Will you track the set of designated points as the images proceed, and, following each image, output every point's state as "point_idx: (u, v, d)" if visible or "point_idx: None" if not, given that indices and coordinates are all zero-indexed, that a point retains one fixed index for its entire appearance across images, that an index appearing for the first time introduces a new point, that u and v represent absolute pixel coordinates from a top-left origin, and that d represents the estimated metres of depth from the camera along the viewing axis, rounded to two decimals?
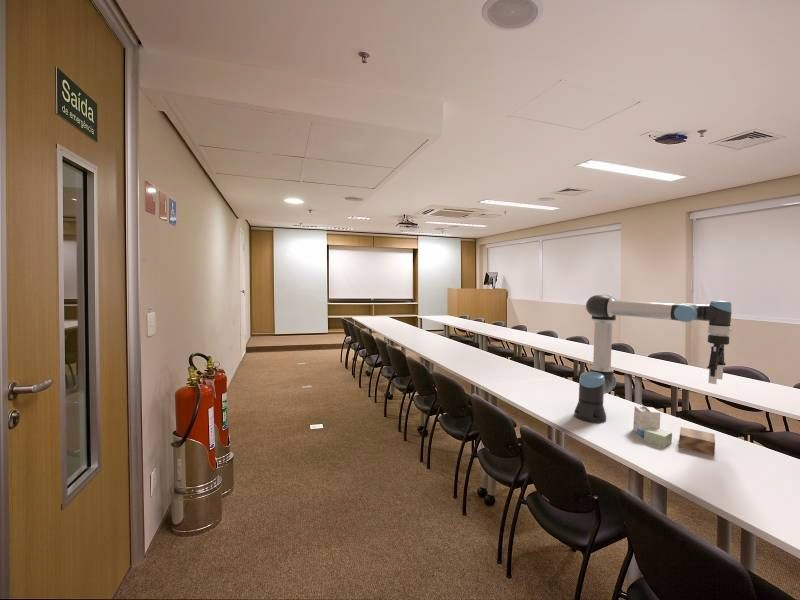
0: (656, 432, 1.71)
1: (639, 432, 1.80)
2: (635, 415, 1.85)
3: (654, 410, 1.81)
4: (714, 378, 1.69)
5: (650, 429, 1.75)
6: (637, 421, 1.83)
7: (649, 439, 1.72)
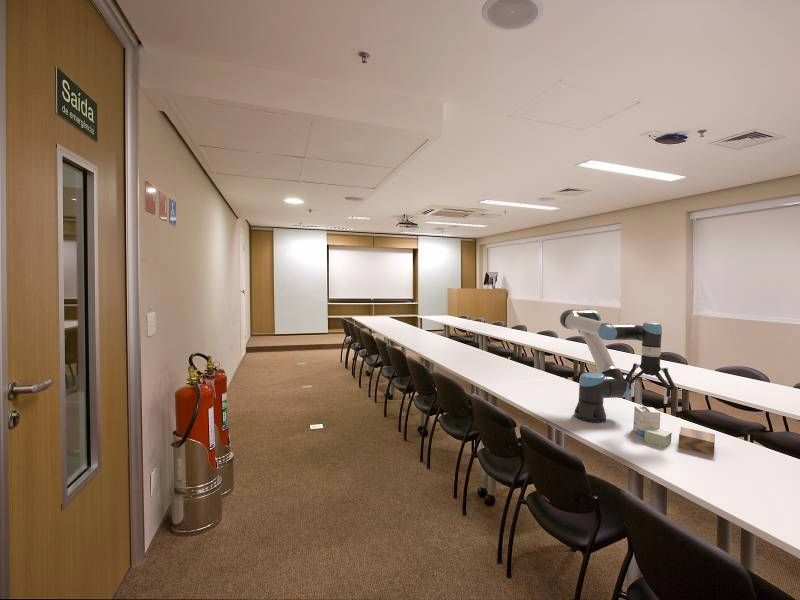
0: (656, 432, 1.71)
1: (639, 432, 1.80)
2: (635, 415, 1.85)
3: (654, 410, 1.81)
4: None
5: (650, 429, 1.75)
6: (637, 421, 1.83)
7: (649, 439, 1.71)
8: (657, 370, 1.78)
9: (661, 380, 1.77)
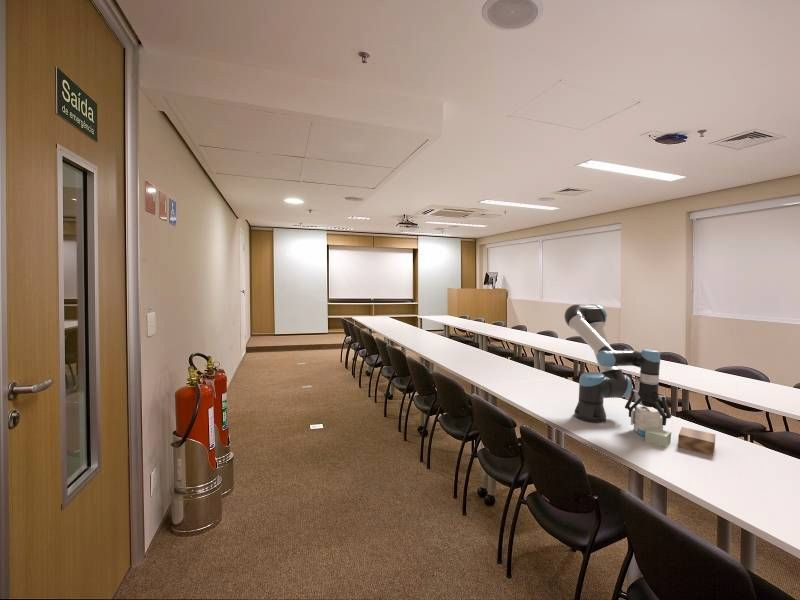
0: (656, 432, 1.71)
1: (639, 432, 1.80)
2: (636, 415, 1.85)
3: (654, 410, 1.80)
4: None
5: (650, 429, 1.74)
6: (637, 421, 1.83)
7: (650, 439, 1.71)
8: (655, 398, 1.79)
9: (658, 408, 1.78)
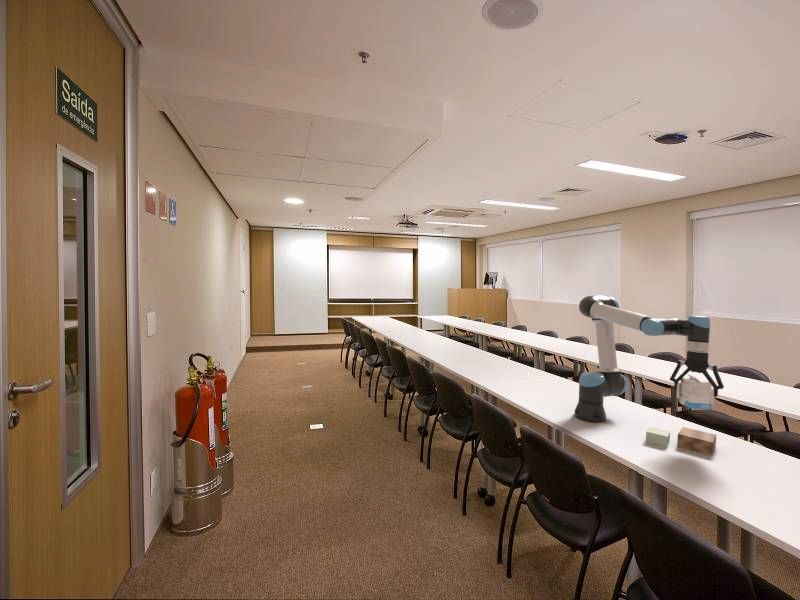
0: (657, 433, 1.71)
1: (688, 405, 1.66)
2: (682, 387, 1.70)
3: (704, 381, 1.66)
4: None
5: (650, 429, 1.74)
6: (685, 393, 1.68)
7: (651, 440, 1.71)
8: (705, 367, 1.64)
9: (708, 378, 1.63)
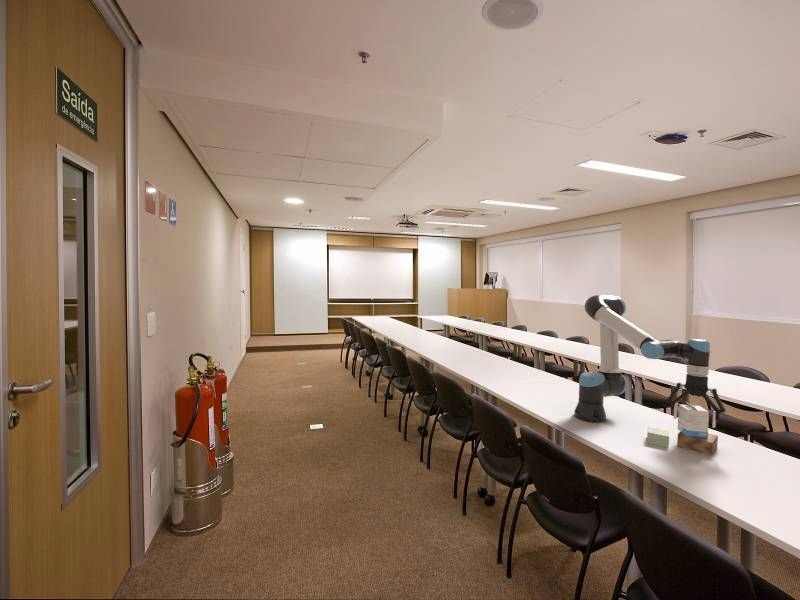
0: (658, 433, 1.70)
1: (685, 432, 1.67)
2: (680, 414, 1.71)
3: (701, 409, 1.67)
4: None
5: (650, 430, 1.74)
6: (682, 420, 1.69)
7: (652, 440, 1.70)
8: (705, 391, 1.64)
9: (709, 402, 1.63)
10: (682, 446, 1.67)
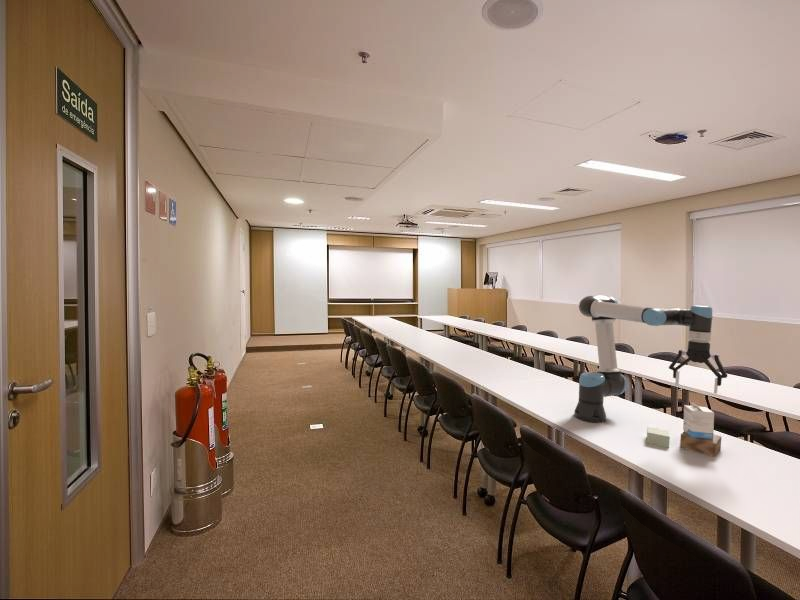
0: (658, 433, 1.70)
1: (689, 433, 1.66)
2: (685, 415, 1.70)
3: (707, 410, 1.65)
4: None
5: (650, 430, 1.74)
6: (687, 421, 1.68)
7: (653, 440, 1.70)
8: (707, 357, 1.64)
9: (711, 368, 1.63)
10: (685, 447, 1.66)
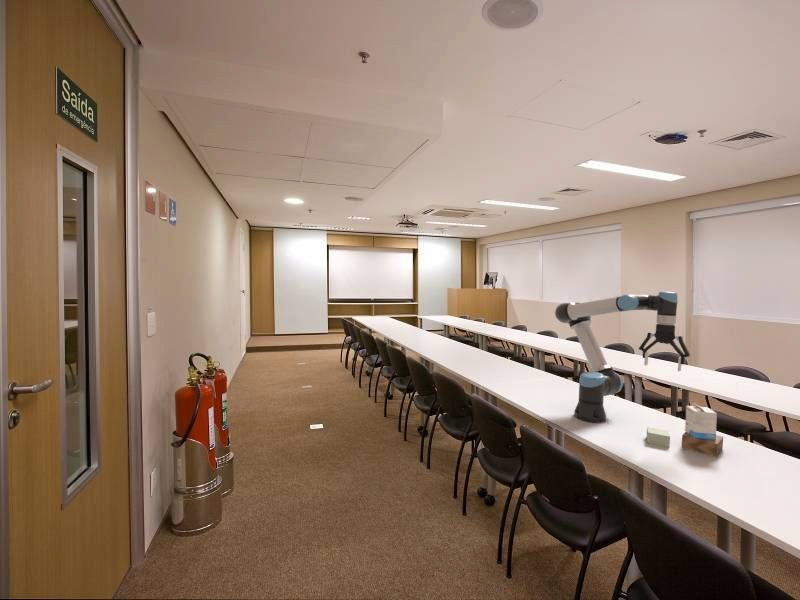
0: (658, 433, 1.70)
1: (692, 434, 1.65)
2: (688, 416, 1.69)
3: (709, 410, 1.65)
4: None
5: (650, 430, 1.74)
6: (690, 422, 1.67)
7: (653, 440, 1.70)
8: (672, 338, 1.80)
9: (675, 348, 1.79)
10: (687, 447, 1.66)
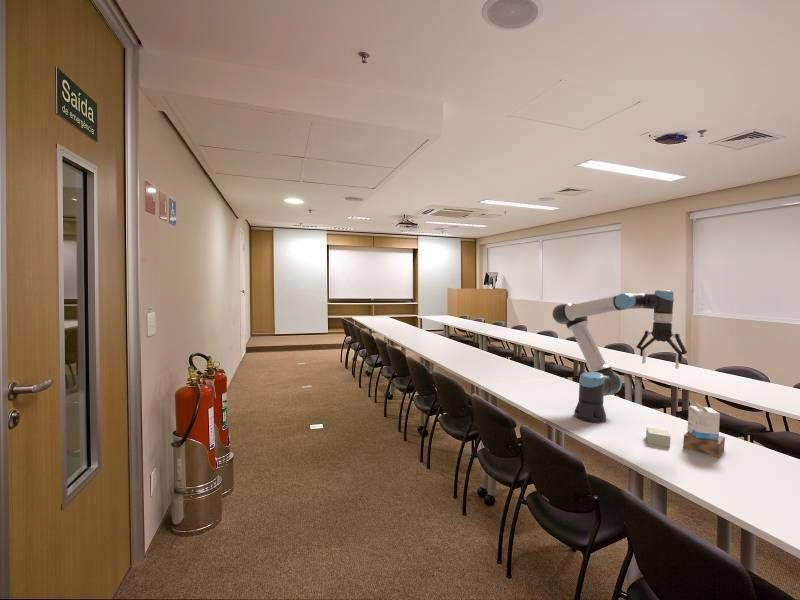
0: (658, 433, 1.70)
1: (695, 434, 1.65)
2: (690, 416, 1.69)
3: (712, 410, 1.64)
4: None
5: (650, 430, 1.74)
6: (692, 422, 1.67)
7: (654, 440, 1.70)
8: (669, 336, 1.82)
9: (673, 345, 1.81)
10: (688, 447, 1.66)
